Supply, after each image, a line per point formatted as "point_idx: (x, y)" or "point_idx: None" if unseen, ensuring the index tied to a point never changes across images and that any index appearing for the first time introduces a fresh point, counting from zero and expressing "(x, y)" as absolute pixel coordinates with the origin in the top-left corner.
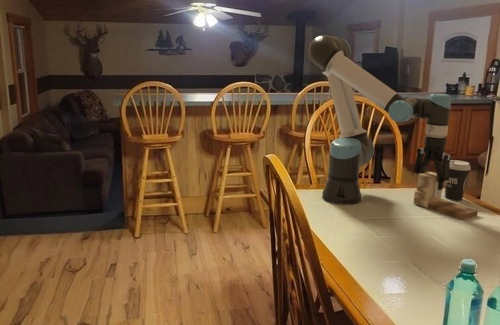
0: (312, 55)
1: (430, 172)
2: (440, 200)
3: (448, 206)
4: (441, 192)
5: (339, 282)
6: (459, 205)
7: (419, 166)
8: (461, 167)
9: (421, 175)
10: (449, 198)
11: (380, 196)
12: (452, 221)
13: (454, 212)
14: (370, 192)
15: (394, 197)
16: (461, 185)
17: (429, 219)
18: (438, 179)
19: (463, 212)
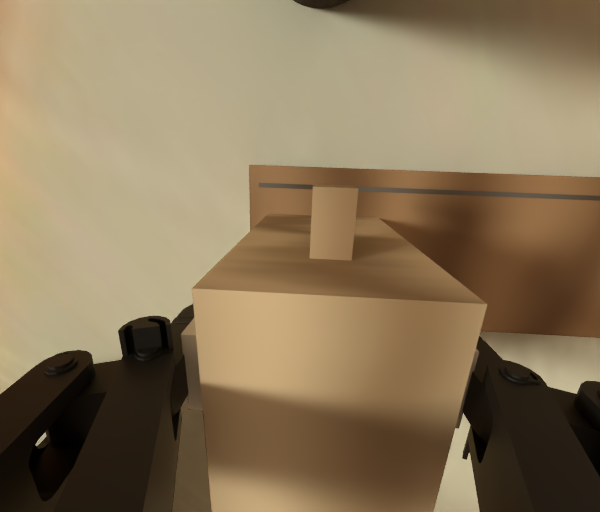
0: None
1: (223, 326)
2: (378, 218)
3: (478, 280)
4: (395, 233)
5: None
6: (523, 196)
7: (22, 500)
8: None
9: (263, 506)
10: (329, 3)
11: (104, 361)
12: (547, 374)
13: (546, 331)
14: (29, 353)
15: (142, 315)
16: None
17: (457, 431)
18: (481, 450)
19: (598, 302)
